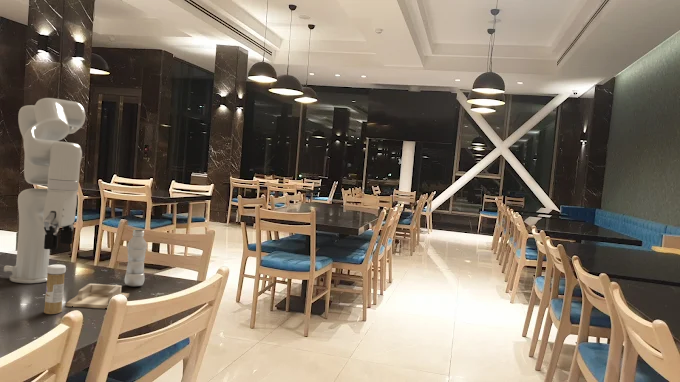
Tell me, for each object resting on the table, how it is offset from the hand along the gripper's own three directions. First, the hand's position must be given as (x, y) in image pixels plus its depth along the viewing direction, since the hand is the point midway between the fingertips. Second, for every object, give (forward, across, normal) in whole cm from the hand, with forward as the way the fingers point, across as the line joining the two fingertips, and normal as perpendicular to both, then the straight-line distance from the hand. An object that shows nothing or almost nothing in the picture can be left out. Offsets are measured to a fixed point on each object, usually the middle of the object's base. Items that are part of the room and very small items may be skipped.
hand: (58, 246), depth 135 cm
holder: (+19, -13, +8) cm, 24 cm away
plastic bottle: (+19, -33, +13) cm, 40 cm away
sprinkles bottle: (+19, 0, 0) cm, 19 cm away
